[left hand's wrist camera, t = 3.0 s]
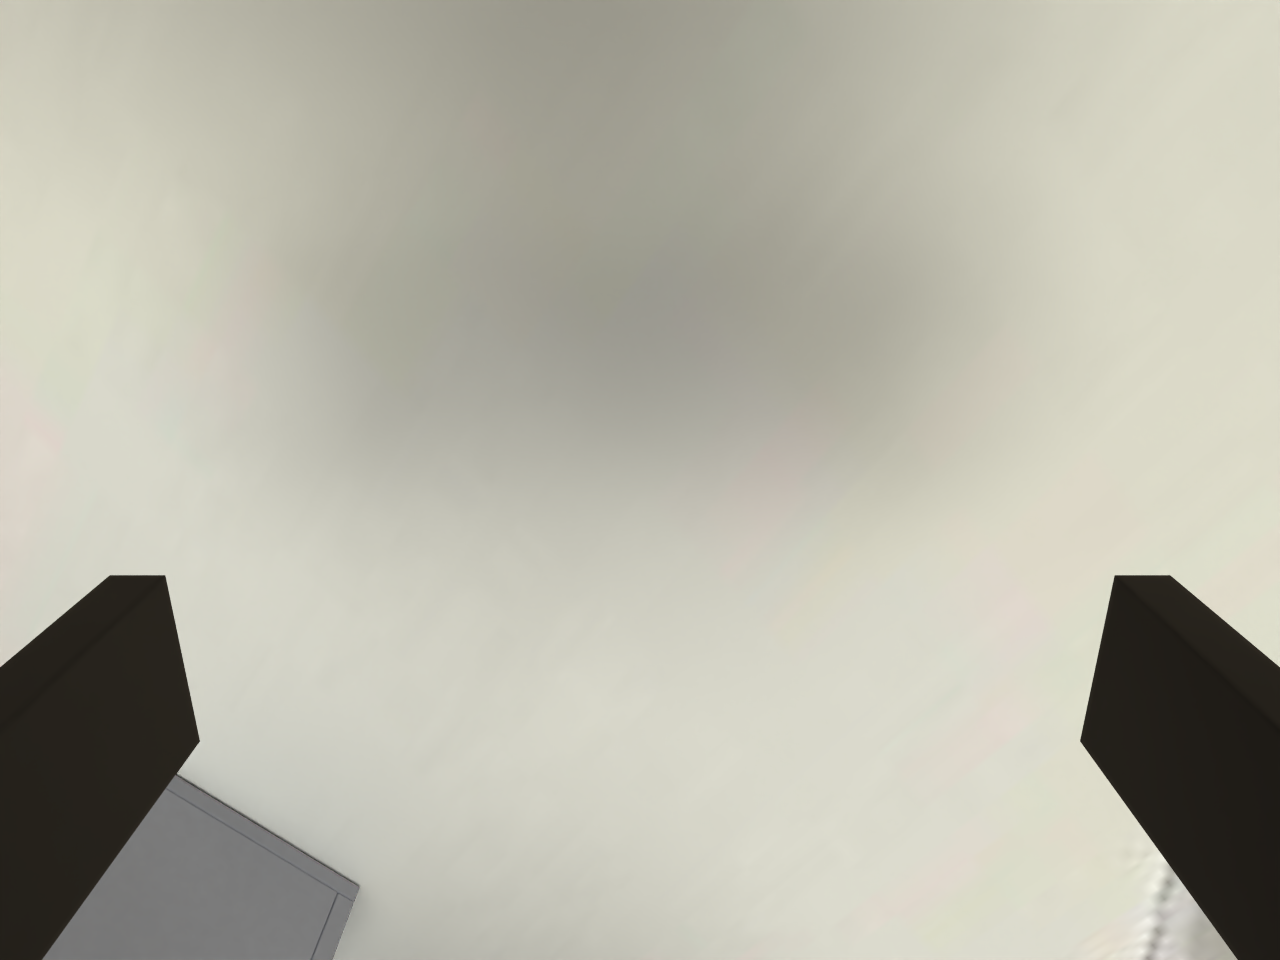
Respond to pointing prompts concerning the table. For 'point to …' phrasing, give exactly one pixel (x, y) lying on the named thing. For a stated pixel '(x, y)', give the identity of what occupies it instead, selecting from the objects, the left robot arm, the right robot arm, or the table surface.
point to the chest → (208, 892)
